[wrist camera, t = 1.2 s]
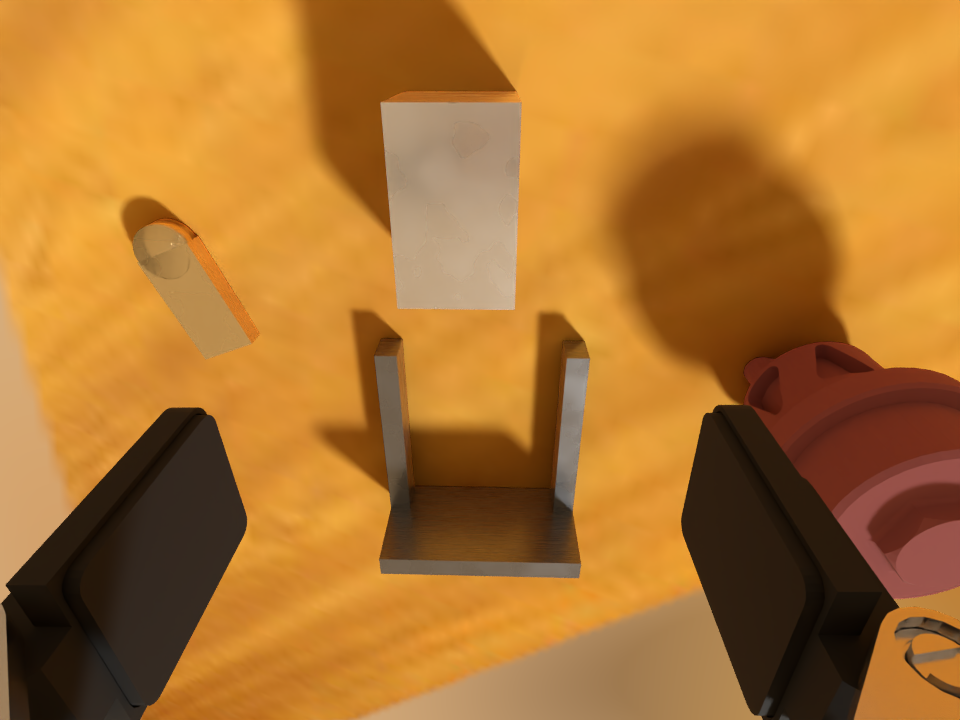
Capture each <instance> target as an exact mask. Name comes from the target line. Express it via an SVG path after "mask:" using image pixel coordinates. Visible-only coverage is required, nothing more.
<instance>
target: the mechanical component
mask: <svg viewBox="0 0 960 720" xmlns="http://www.w3.org/2000/svg"><path fill="white" fill-rule="evenodd" d="M744 376H745V378H746V379H747V381H748V382H749V383H750V386H749V388H748V391H747V393H746V396H745V400H744V405H749V406H751V407H752V408H753V409H754V410H755V411H756V413H757V414H758V416H759V417H760V418H761V420H762V421H763V423H764V424H765V426H766V427H767V428H768V430H769V431H770V433H771V434H772V435H773V437H774V438H775V440H776V441H777V443H778V444H779V445H780V447H781V448H782V450H783V451H784V453H785V454H786V455H787V457H788V458H789V460H790V461H791V462H792V464H793V465H794V467H795V468H796V470H797V471H798V472H799V474H800V475H801V477H803V478H805V479H807V480H808V481H809V483H810V484H811V485H812V486H813V487H814V489H815V490H816V491H817V493H818V494H819V496H820V497H821V498H822V500H823V501H824V503H825V504H826V505H827V507H828V508H829V510H830V511H831V512H832V514H833V515H834V517H835V518H836V519H837V521H838V522H839V524H840V525H841V526H842V528H843V529H844V531H845V532H846V533H847V535H848V536H849V538H850V539H851V540H852V542H853V543H854V545H855V546H856V547H857V549H858V550H859V552H860V553H861V554H862V556H863V557H864V559H865V560H866V561H867V563H868V564H869V566H870V567H871V568H872V570H873V571H874V573H875V574H876V575H877V577H878V578H879V580H880V581H881V582H882V584H883V585H884V587H885V588H886V589H887V591H888V592H889V594H890V595H891V596H892V598H893V599H905V598H915V597H921V596H927V595H932V594H936V593H939V592H943V591H947V590H950V589H953V588H956V587H958V586H960V382H959V381H957V380H955V379H953V378H951V377H949V376H947V375H945V374H942V373H938V372H935V371H931V370H926V369H919V368H888V369H884V368H883V367H881V366H880V365H879V364H878V363H876V362H875V361H874V360H873V359H872V358H871V357H870V356H868V355H867V354H866V353H865V352H863V351H862V350H860V349H858V348H857V347H855V346H852V345H849V344H845V343H840V342H817V343H812V344H807V345H803V346H800V347H797V348H794V349H792V350H790V351H788V352H786V353H784V354H782V355H780V356H779V357H777V358H776V359H772V358H767V357H759V358H755V359H753V360H751V361H750V362H749V363H748V364H747V365H746V367H745V368H744Z"/></svg>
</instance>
